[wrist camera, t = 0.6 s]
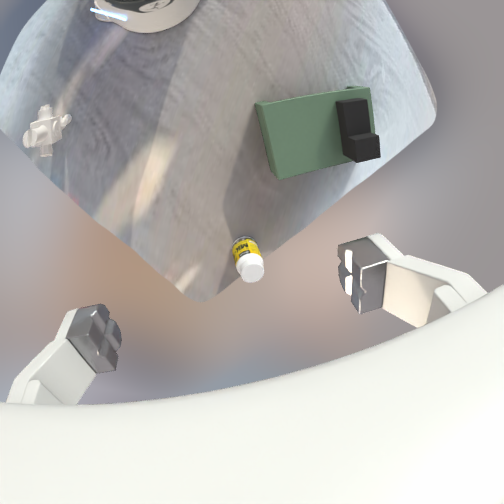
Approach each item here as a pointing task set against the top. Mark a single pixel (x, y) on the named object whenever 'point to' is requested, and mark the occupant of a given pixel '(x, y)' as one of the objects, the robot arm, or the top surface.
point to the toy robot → (45, 130)
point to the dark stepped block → (357, 130)
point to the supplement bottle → (248, 259)
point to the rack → (306, 131)
